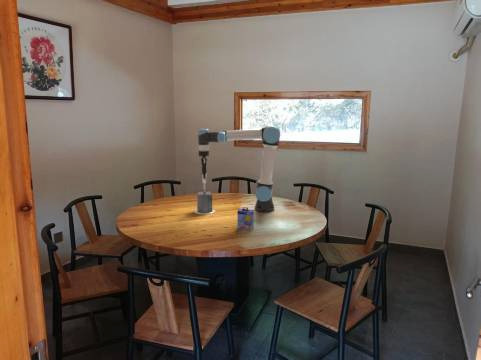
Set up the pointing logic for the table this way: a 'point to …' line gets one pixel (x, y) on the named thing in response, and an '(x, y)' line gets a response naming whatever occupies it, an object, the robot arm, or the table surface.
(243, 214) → the ink cartridge box
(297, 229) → the table surface
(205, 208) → the grey piece
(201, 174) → the plunger
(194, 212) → the trivet
